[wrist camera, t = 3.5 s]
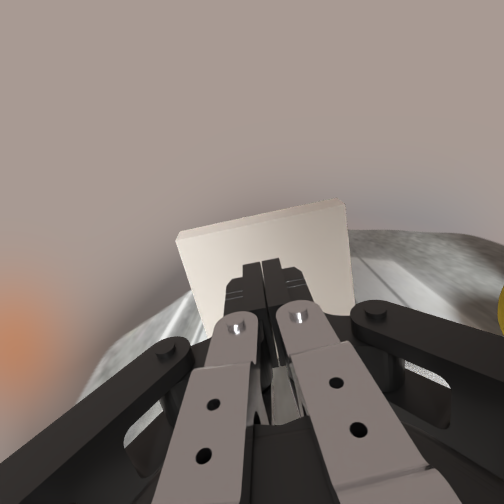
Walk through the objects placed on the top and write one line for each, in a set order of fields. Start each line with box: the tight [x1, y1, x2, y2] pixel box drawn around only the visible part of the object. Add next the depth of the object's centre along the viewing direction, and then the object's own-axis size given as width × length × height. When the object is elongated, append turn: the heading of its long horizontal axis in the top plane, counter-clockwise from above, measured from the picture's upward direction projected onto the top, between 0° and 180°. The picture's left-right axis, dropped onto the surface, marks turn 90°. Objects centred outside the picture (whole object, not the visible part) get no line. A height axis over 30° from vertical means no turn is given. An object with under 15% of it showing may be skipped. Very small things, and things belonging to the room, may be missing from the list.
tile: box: [176, 198, 355, 358], centre depth 25 cm, size 12×2×12 cm, turn 92°
